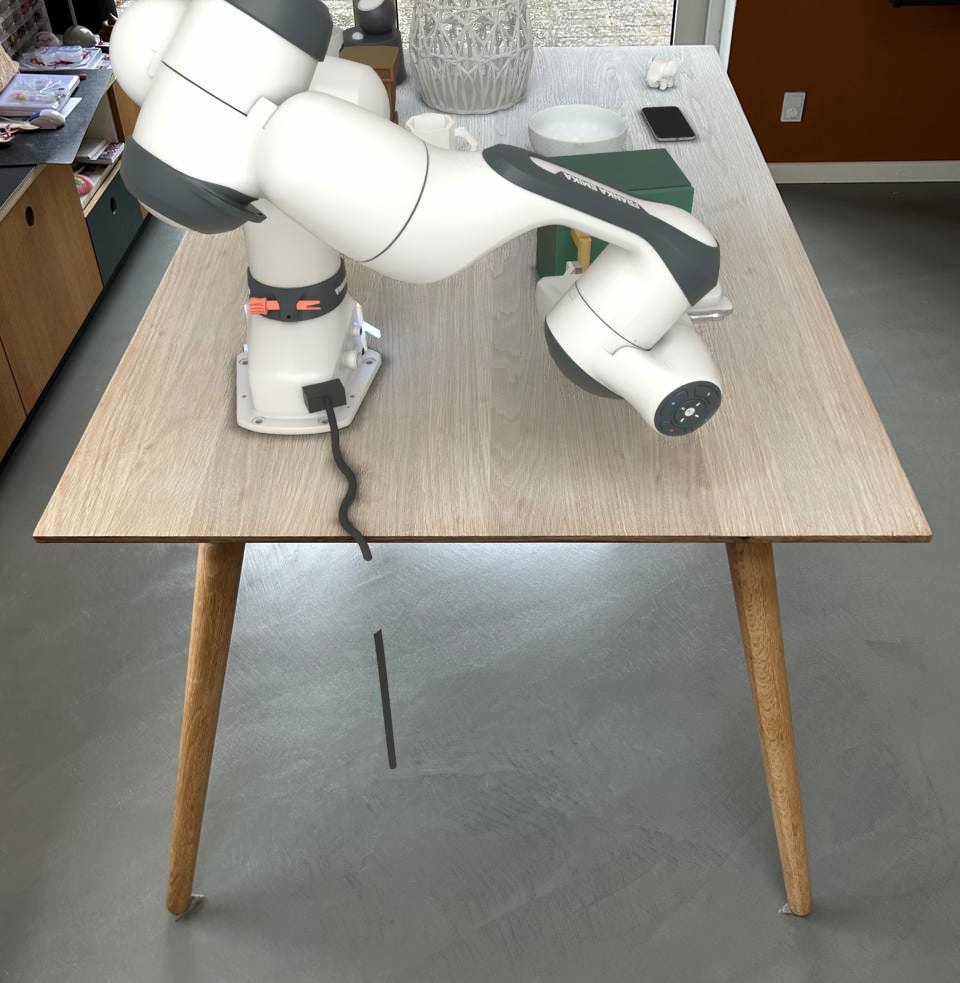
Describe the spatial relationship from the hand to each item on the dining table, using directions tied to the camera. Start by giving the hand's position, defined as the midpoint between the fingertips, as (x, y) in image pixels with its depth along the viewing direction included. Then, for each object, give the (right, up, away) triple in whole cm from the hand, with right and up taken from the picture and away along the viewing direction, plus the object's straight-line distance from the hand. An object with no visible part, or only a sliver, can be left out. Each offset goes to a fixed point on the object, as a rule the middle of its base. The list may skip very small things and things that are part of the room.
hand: (612, 263), depth 121 cm
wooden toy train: (-39, +36, +69) cm, 87 cm away
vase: (-17, +53, +88) cm, 104 cm away
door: (+4, -2, +23) cm, 24 cm away
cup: (-44, +47, +82) cm, 105 cm away
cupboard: (+3, +4, +30) cm, 31 cm away
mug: (-22, +27, +58) cm, 68 cm away
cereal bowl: (+2, +32, +63) cm, 71 cm away
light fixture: (-38, +59, +96) cm, 119 cm away
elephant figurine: (+21, +55, +90) cm, 108 cm away
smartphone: (+20, +42, +75) cm, 88 cm away
